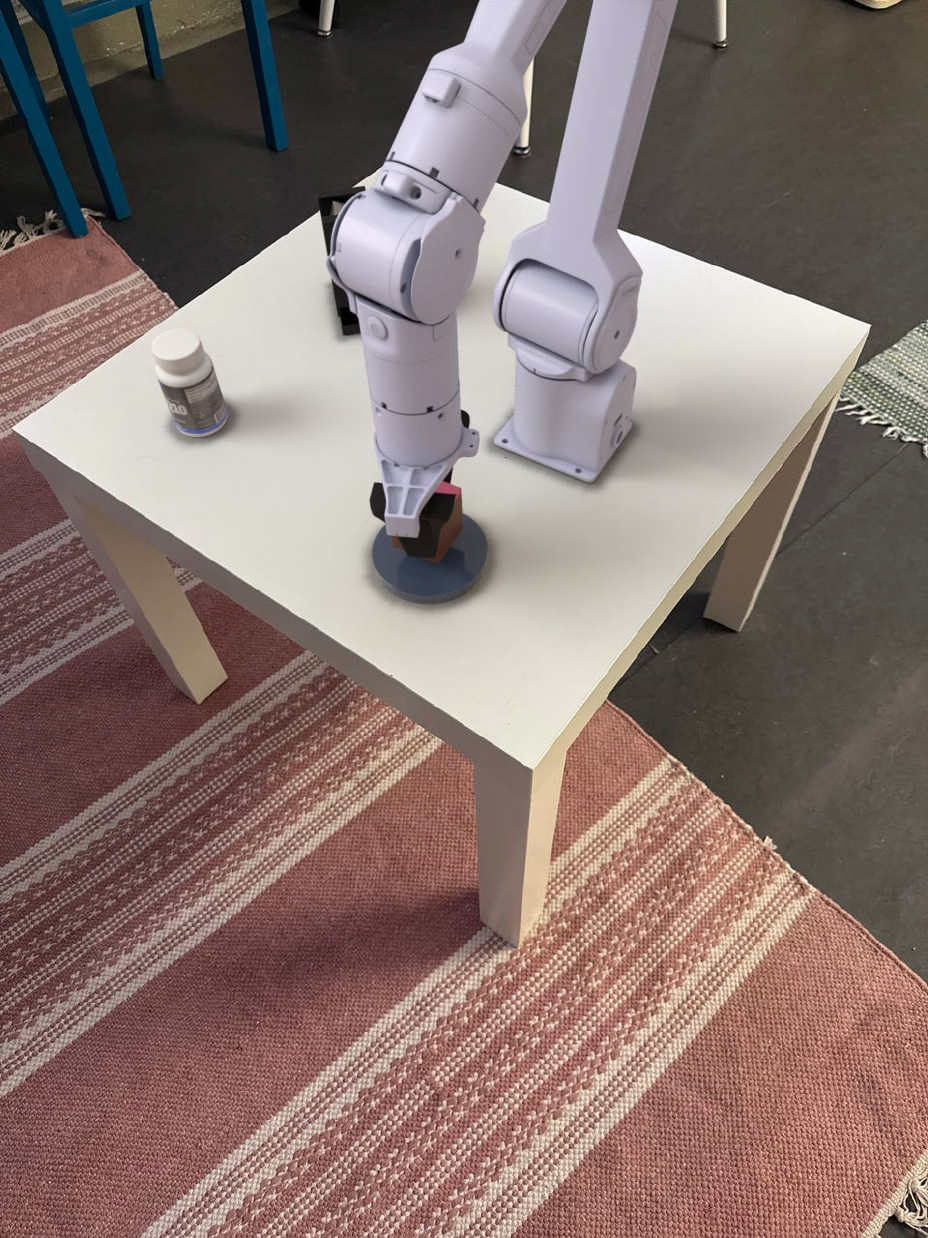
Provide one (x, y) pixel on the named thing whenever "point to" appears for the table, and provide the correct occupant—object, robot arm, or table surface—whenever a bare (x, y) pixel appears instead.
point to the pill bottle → (189, 383)
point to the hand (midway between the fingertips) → (427, 525)
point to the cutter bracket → (341, 298)
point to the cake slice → (450, 528)
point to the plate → (432, 567)
